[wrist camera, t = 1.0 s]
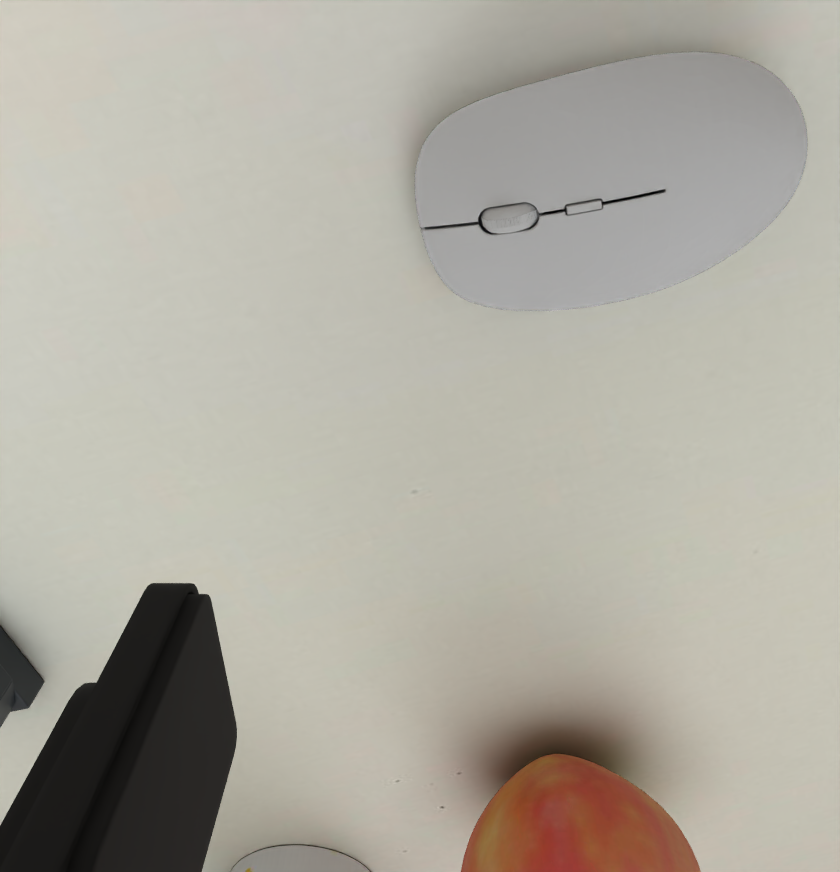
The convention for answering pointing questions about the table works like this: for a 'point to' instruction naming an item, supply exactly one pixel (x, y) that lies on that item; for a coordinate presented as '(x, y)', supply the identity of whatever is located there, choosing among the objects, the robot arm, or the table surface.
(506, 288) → the computer mouse
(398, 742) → the table surface
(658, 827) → the apple
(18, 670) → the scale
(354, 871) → the cup
